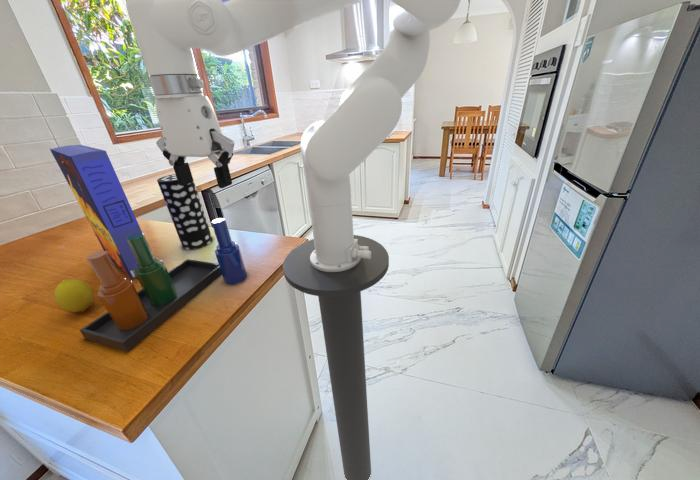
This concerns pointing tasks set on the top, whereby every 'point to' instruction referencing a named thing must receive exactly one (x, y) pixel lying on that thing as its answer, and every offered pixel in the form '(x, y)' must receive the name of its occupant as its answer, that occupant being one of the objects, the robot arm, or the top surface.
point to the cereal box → (101, 200)
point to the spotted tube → (185, 212)
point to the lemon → (73, 295)
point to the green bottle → (151, 272)
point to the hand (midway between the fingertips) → (205, 185)
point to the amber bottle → (117, 293)
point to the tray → (188, 285)
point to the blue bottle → (228, 254)
